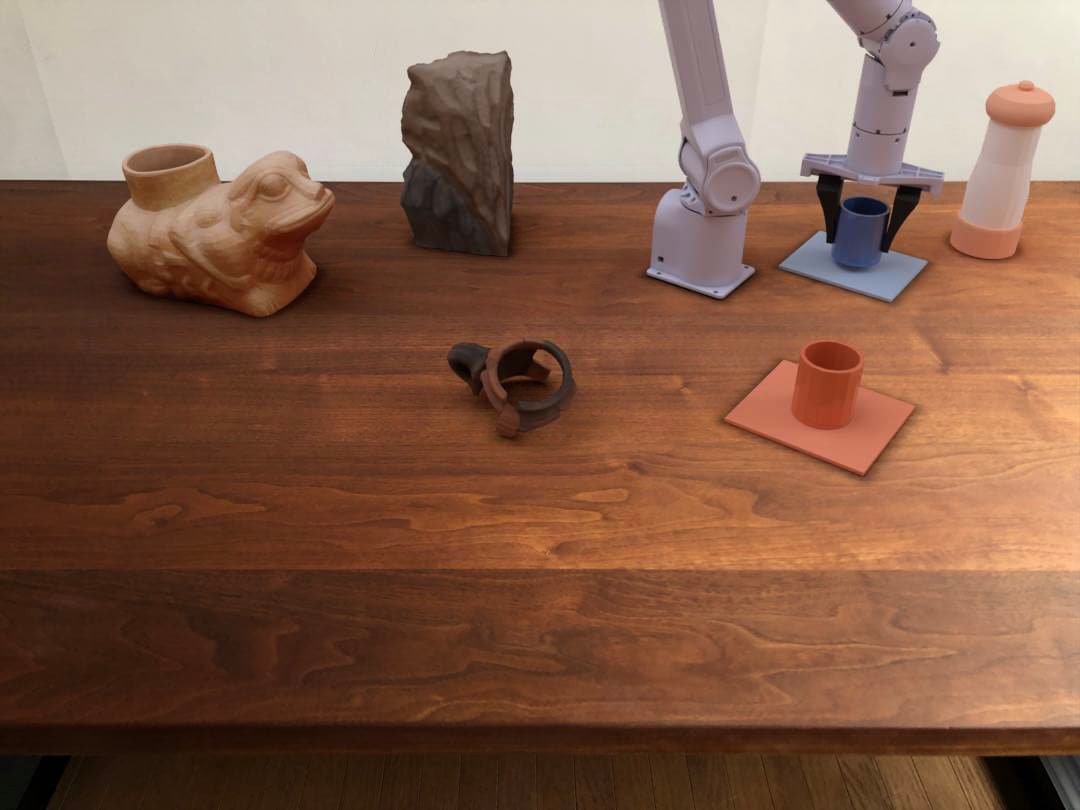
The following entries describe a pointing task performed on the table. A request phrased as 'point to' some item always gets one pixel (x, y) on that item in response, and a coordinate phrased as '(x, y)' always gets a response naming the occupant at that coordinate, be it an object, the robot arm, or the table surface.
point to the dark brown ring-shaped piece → (511, 361)
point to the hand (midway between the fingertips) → (857, 244)
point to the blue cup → (860, 231)
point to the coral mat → (841, 447)
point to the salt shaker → (1002, 172)
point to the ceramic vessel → (218, 228)
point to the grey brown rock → (460, 152)
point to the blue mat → (854, 269)
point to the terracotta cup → (827, 384)
